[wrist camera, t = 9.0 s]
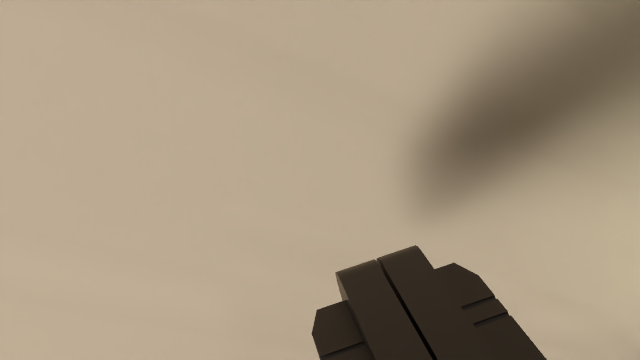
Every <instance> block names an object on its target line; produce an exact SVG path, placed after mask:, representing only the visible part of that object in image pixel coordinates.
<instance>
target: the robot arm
mask: <svg viewBox="0 0 640 360" xmlns="http://www.w3.org/2000/svg"><path fill="white" fill-rule="evenodd" d="M336 278H337V282H338V286H339V290H340V293H341V297H342V302H339V303H336V304H333V305H330V306H327V307H324V308H321V309H318V310H317V312H316V317H315V321H314V326H313V331H312V336H313V339H314V342H315V345H316V348H317V351H318V355H319V358H320V360H547V359H546V358H545V357H544V356H543V354H542V353H541V352H540V351H539V350H538V348H537V347H536V346H535V345H534V343H533V342H532V341H531V340H530V338H529V337H528V336H527V335H526V333H525V332H524V331H523V330H522V329H521V327H520V326H519V325H518V324H517V322H516V321H515V320H514V319H513V317H512V316H509V314H508V311H507V310H506V309H505V308H504V306H503V305H502V304H501V303H500V301H499V300H498V299H496V298H495V296H494V294H493V293H492V291H491V290H490V289H489V288H488V287H487V285H486V284H485V283H484V282H483V280H482V279H481V278H480V277H479V276H478V275H477V274H475V273H473V272H471V271H469V270H467V269H465V268H463V267H461V266H459V265H457V264H456V263H452V264H449V265H446V266H443V267H440V268H437V269H434V268H433V267H432V265H431V264H430V263H429V261H428V260H427V258H426V257H425V256H424V254H423V253H422V251H421V250H420V249H419V247H418V246H416V245H415V246H412V247H409V248H406V249H403V250H400V251H397V252H394V253H391V254H388V255H385V256H382V257H379V258H377V262H376V260H375V259H374V260H371V261H368V262H365V263H362V264H359V265H356V266H353V267H350V268H347V269H344V270H341V271H338V272H336Z"/></svg>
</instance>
